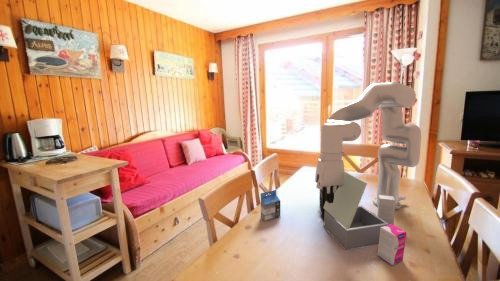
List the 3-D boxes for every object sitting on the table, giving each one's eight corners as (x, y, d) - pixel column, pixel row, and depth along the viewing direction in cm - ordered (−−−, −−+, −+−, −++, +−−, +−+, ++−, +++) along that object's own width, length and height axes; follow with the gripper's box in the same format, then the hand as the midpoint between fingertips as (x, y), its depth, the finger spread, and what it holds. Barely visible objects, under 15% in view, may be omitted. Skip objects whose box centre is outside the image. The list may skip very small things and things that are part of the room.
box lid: (340, 169, 101) (338, 168, 101) (367, 183, 85) (364, 182, 84) (325, 208, 103) (323, 207, 103) (348, 229, 87) (346, 229, 86)
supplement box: (392, 266, 80) (395, 235, 77) (376, 256, 85) (379, 226, 83) (403, 261, 82) (407, 231, 80) (387, 251, 87) (390, 222, 85)
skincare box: (391, 221, 108) (393, 196, 105) (393, 225, 104) (396, 200, 102) (376, 219, 110) (378, 194, 107) (377, 223, 106) (380, 198, 103)
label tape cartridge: (264, 221, 110) (264, 196, 108) (260, 217, 113) (260, 193, 111) (280, 216, 114) (280, 192, 112) (276, 213, 117) (276, 189, 115)
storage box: (360, 221, 108) (361, 205, 106) (387, 242, 92) (389, 224, 91) (323, 227, 104) (324, 210, 103) (345, 249, 89) (346, 230, 87)
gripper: (343, 152, 95) (341, 195, 98) (308, 155, 92) (307, 199, 95) (355, 157, 87) (352, 203, 91) (317, 160, 84) (316, 208, 88)
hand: (329, 201), depth 93 cm, fingers closed
